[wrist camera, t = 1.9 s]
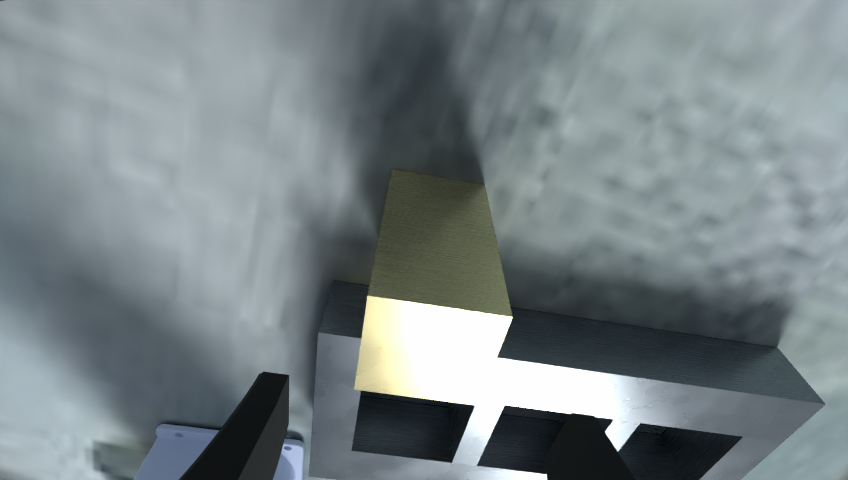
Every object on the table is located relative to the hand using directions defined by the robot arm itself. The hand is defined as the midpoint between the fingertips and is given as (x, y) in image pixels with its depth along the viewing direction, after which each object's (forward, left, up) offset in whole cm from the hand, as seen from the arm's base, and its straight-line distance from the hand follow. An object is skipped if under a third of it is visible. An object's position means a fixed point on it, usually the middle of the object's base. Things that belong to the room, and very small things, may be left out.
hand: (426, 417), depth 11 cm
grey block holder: (+8, -11, -10) cm, 17 cm away
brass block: (0, 0, -10) cm, 10 cm away
